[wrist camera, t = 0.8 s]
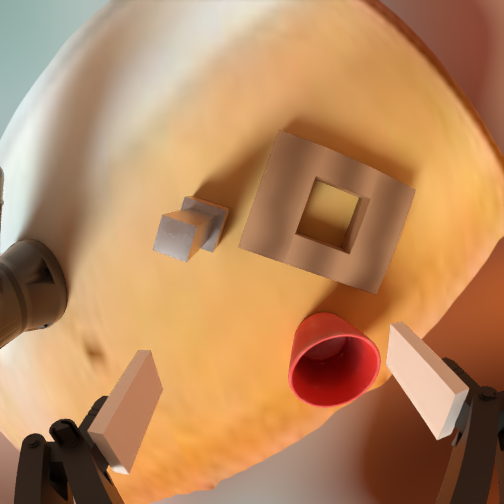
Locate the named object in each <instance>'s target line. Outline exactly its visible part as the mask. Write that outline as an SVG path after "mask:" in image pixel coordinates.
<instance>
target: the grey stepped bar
mask: <svg viewBox="0 0 504 504" xmlns="http://www.w3.org/2000/svg"><path fill="white" fill-rule="evenodd" d="M229 210H230V208H227V207H224V206H221V205H218V204H215V203H212V202H209V201H206V200H203V199H200V198H197V197H194V196H187V197H185V198H184V201H183V204H182V208H181V210H180V211H176V212H172V213H168V214H164V215H162V218H161V221H160V225H159V229H158V232H157V236H156V240H155V243H154V247H153V250H154V251H157V252H159V253H162V254H165V255H168V256H170V257H173V258H176V259H179V260H181V261H184V262H187V261H188V260H189V259H190V258H191V257H192V256H193V255H194V254H195V253H196V252H197V251H198V250H199V249H200V248H202V249H204V250H207V251H210V252H214V250H215V249H216V248H217V246H218V243H219V240H220V237H221V234H222V231H223V228H224V225H225V222H226V219H227V216H228V213H229Z"/></svg>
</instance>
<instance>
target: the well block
mask: <svg viewBox="0 0 504 504" xmlns="http://www.w3.org/2000/svg"><path fill="white" fill-rule="evenodd" d="M314 180H318V181H320V182H323V183H325V184H328V185H330V186H333V187H335V188H338V189H340V190H342V191H345V192H347V193H349V194H352V195H354V196H356V197H359V200H358V202H357V205H356V208H355V211H354V214H353V216H352V219H351V222H350V225H349V227H348V230H347V233H346V235H345V238H344V241H343V243H342V246H341V248H339V247H336V246H334V245H331V244H328V243H326V242H323V241H320V240H318V239H315V238H312V237H309V236H307V235H304V234H301V233H298V232H296V230H297V227H298V224H299V222H300V219H301V216H302V214H303V211H304V208H305V205H306V202H307V200H308V197H309V194H310V191H311V188H312V186H313V183H314ZM414 194H415V189H413V188H411V187H409V186H408V185H406V184H404V183H402V182H400V181H398V180H396V179H394V178H392V177H390V176H388V175H386V174H384V173H382V172H380V171H378V170H376V169H374V168H372V167H370V166H367V165H365V164H363V163H361V162H359V161H357V160H354V159H352V158H350V157H348V156H345V155H343V154H341V153H338V152H336V151H334V150H331V149H329V148H326V147H324V146H321V145H319V144H316V143H314V142H311V141H309V140H306V139H304V138H301V137H298V136H296V135H293V134H290V133H287V132H284V131H282V130H279V132H278V135H277V138H276V141H275V143H274V146H273V149H272V152H271V155H270V157H269V160H268V163H267V166H266V169H265V171H264V174H263V177H262V180H261V183H260V185H259V188H258V191H257V194H256V197H255V200H254V203H253V205H252V208H251V211H250V214H249V217H248V220H247V223H246V225H245V228H244V231H243V234H242V237H241V240H240V243H239V246H238V248H241V249H244V250H247V251H250V252H253V253H256V254H259V255H262V256H264V257H267V258H270V259H273V260H276V261H279V262H282V263H285V264H288V265H291V266H294V267H296V268H299V269H302V270H305V271H308V272H311V273H314V274H317V275H320V276H323V277H326V278H328V279H331V280H334V281H337V282H340V283H343V284H346V285H349V286H352V287H355V288H358V289H360V290H363V291H366V292H369V293H372V294H375V295H376V294H377V292H378V290H379V287H380V285H381V283H382V280H383V278H384V276H385V273H386V271H387V269H388V266H389V264H390V261H391V259H392V256H393V254H394V251H395V248H396V246H397V243H398V241H399V238H400V235H401V232H402V230H403V227H404V224H405V221H406V218H407V215H408V212H409V209H410V206H411V203H412V200H413V197H414Z"/></svg>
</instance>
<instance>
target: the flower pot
mask: <svg viewBox="0 0 504 504" xmlns="http://www.w3.org/2000/svg"><path fill="white" fill-rule="evenodd" d="M380 363H381V359H380V354H379V350H378V348H377V347H376V345H375V344H374V343H373V342H372V341H371V340H370V339H369V338H368V337H367V336H365V335H364V334H363V333H362V332H360V331H359V330H358V329H356V328H355V327H354V326H352V325H351V324H349V323H348V322H346V321H345V320H343V319H342V318H340V317H339V316H337V315H335V314H332V313H327V312H323V313H317V314H314V315H311V316H310V317H308V318H307V319H305V320H304V321H303V322H302V323H301V324H300V325H299V327H298V328H297V330H296V333H295V337H294V342H293V347H292V353H291V359H290V366H289V375H288V379H289V385H290V388H291V390H292V391H293V393H294V394H295V396H296V397H297V398H298V399H300V400H301V401H303V402H304V403H306V404H309V405H312V406H316V407H325V408H327V407H336V406H340V405H343V404H346V403H349V402H351V401H353V400H355V399H356V398H358V397H359V396H361V395H362V394H363V393H365V392H366V391H367V390H368V389H369V388H370V386H371V385H372V384H373V383H374V381H375V379H376V377H377V375H378V373H379V369H380Z"/></svg>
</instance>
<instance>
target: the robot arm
mask: <svg viewBox="0 0 504 504" xmlns="http://www.w3.org/2000/svg"><path fill="white" fill-rule="evenodd" d="M3 185H4V173H3V170H2V168H1V167H0V231H1V215H2V205H3V204H4V201H3ZM66 302H67V290H66V284H65V279H64V276H63V273H62V270H61V268H60V266H59V264H58V262H57V260H56V258H55V257H54V255H53V254H52V253H51V251H50V250H49V249H48V248H47V247H46V246H45V245H43V244H42V243H40V242H39V241H36V240H33V239H26V240H23V241H19V242H16V243H14V244H13V245H11V246H10V247H9V249H8V250H7V251H5V252H4V253H3V254H2V255H1V256H0V349H1V348H2V347H4V346H5V345H6V344H8V343H9V342H10V341H12V340H13V339H14V338H16V337H17V336H18V335H20V334H21V333H23V332H26V331H32V330H38V329H44V328H47V327H50V326H51V325H53V324H54V323H55V322H57V321H58V320H59V319H60V318H61V317H62V315H63V313H64V311H65V308H66ZM386 365H387V367H388V368H389V370H390V371H391V373H392V374H393V375H394V377H395V378H396V380H397V381H398V382H399V384H400V385H401V387H402V388H403V389H404V391H405V393H406V394H407V395H408V397H409V398H410V400H411V401H412V403H413V404H414V406H415V407H416V409H417V410H418V412H419V413H420V414H421V416H422V418H423V419H424V421H425V422H426V424H427V425H428V426H429V428H430V430H431V431H432V433H433V434H434V436H435V437H436V439H437V440H438V439H441V438H443V437H445V436H447V435H450V434H451V432H452V430H453V428H454V426H456V427H457V428H458V432H457V435H456V437H455V439H454V441H453V443H452V446H453V445H454V446H453V451H452V454H451V458H450V461H449V465H448V468H447V472H446V475H445V478H444V481H443V484H442V486H441V489H440V492H439V495H438V498H437V500H436V503H435V504H486V502H487V498H488V494H489V490H490V485H491V480H492V474H493V468H494V462H495V455H496V461H497V471H498V484H499V504H504V391H501V392H497V391H496V390H495V389H494V388H492V387H488V386H482V387H480V386H479V385H478V384H477V383H476V382H475V381H474V380H473V379H472V378H471V377H470V376H469V375H468V374H467V373H466V372H464V370H463V369H462V368H460V366H458V364H457V363H455V361H453V360H451V359H449V358H446V357H445V358H442V359H440V358H439V357H438V356H437V355H436V354H435V353H434V352H433V351H432V350H431V349H430V348H429V347H428V346H427V345H426V344H425V343H424V342H423V341H422V340H421V339H420V338H419V337H418V336H417V335H416V334H415V333H414V332H413V331H412V330H411V329H410V328H409V327H408V326H407V325H405V324H404V323H403V322H398V323H393V324H391V325H390V336H389V345H388V353H387V361H386ZM162 390H163V388H162V385H161V382H160V379H159V376H158V373H157V370H156V366H155V363H154V360H153V357H152V353H151V350H138V351H137V353H136V354H135V356H134V358H133V359H132V361H131V362H130V364H129V365H128V367H127V368H126V370H125V371H124V373H123V374H122V376H121V378H120V379H119V381H118V382H117V384H116V385H115V387H114V389H113V390H112V392H111V393H110V395H109V396H102V397H101V398H99V399H98V400H97V401H96V402H95V403H94V405H93V406H92V408H91V409H90V411H89V412H88V415H86V417H85V418H84V420H83V422H82V423H81V425H80V426H79V428H78V427H77V426H76V424H75V423H74V421H72V420H70V419H60V420H58V421H56V422H55V423H53V424H52V425H51V427H50V429H49V433H50V434H51V436H52V437H53V439H54V440H55V442H47V441H46V440H45V438H44V437H43V436H42V435H40V434H36V433H34V434H30V435H28V436H27V437H26V438H25V439H24V440H23V442H22V446H21V452H20V458H19V464H18V470H17V478H16V487H15V497H14V504H74V502H73V496H74V499H75V502H76V504H124V502H123V500H122V498H121V496H120V495H119V493H118V491H117V489H116V487H115V485H114V483H113V481H112V479H111V477H110V475H109V473H108V472H107V471H106V469H107V467H108V465H110V467H111V468H112V470H113V471H114V472H118V473H123V474H128V475H129V474H130V471H131V468H132V466H133V463H134V460H135V458H136V455H137V453H138V450H139V448H140V445H141V442H142V440H143V437H144V435H145V432H146V430H147V427H148V425H149V422H150V420H151V417H152V415H153V412H154V410H155V407H156V405H157V402H158V400H159V398H160V395H161V393H162Z"/></svg>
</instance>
